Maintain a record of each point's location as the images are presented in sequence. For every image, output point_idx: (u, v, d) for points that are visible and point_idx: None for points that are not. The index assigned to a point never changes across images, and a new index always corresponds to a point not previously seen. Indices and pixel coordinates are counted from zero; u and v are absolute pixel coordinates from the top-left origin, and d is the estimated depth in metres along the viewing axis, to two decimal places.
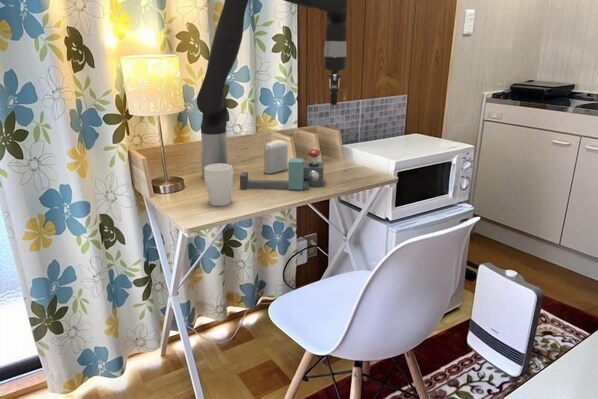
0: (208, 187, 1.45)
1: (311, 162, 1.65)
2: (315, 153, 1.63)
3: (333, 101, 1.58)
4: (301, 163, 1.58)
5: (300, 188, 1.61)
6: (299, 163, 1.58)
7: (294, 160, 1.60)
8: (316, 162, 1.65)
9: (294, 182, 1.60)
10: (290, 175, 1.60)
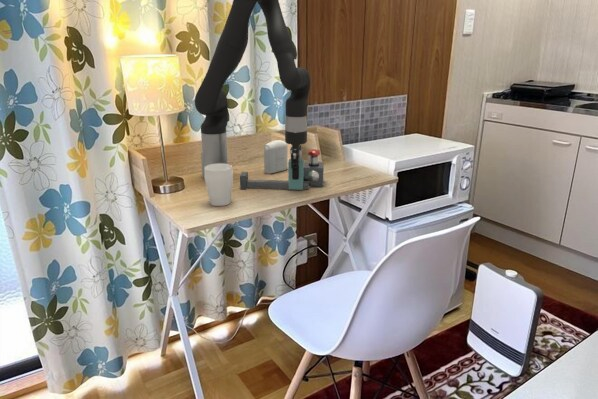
0: (208, 187, 1.45)
1: (311, 162, 1.65)
2: (315, 153, 1.63)
3: (295, 176, 1.58)
4: (301, 163, 1.58)
5: (300, 188, 1.61)
6: (299, 163, 1.58)
7: None
8: (316, 162, 1.65)
9: (294, 182, 1.60)
10: (290, 175, 1.60)
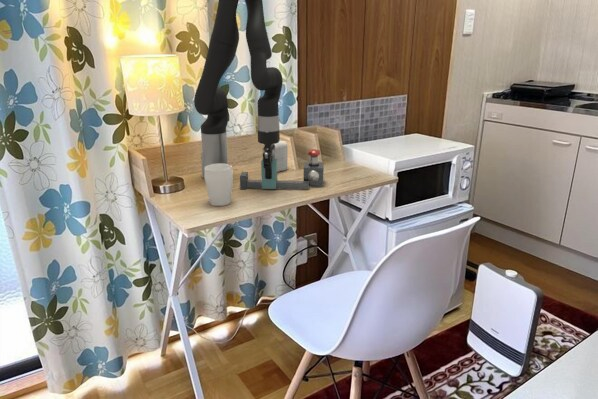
0: (208, 187, 1.45)
1: (311, 162, 1.65)
2: (315, 153, 1.63)
3: (267, 176, 1.59)
4: (274, 162, 1.58)
5: (273, 187, 1.62)
6: (272, 163, 1.59)
7: None
8: (316, 162, 1.65)
9: (267, 181, 1.61)
10: (263, 175, 1.60)
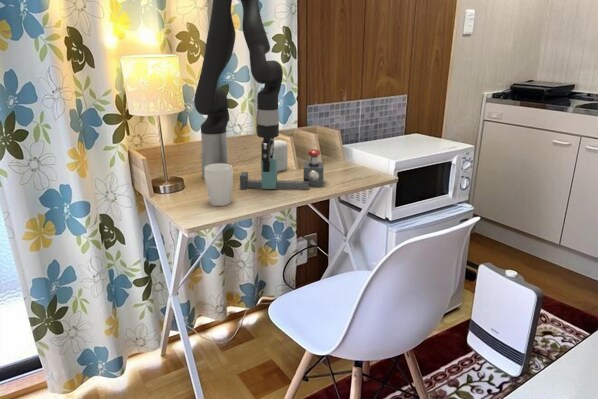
0: (208, 187, 1.45)
1: (311, 162, 1.65)
2: (315, 153, 1.63)
3: (265, 169, 1.56)
4: (274, 162, 1.58)
5: (273, 187, 1.62)
6: (272, 163, 1.59)
7: None
8: (316, 162, 1.65)
9: (267, 181, 1.61)
10: (263, 175, 1.60)
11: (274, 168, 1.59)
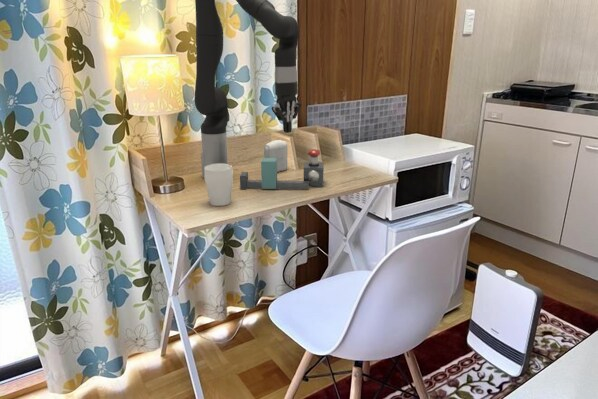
0: (208, 187, 1.45)
1: (311, 162, 1.65)
2: (315, 153, 1.63)
3: (284, 129, 1.57)
4: (274, 162, 1.58)
5: (273, 187, 1.62)
6: (272, 163, 1.59)
7: (267, 159, 1.60)
8: (316, 162, 1.65)
9: (267, 181, 1.61)
10: (263, 175, 1.60)
11: (274, 168, 1.59)
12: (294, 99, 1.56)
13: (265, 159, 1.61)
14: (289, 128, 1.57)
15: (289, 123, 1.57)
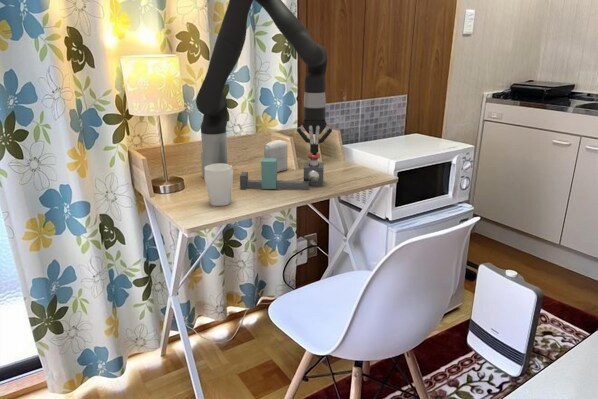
0: (208, 187, 1.45)
1: (311, 165, 1.66)
2: (315, 156, 1.64)
3: None
4: (274, 162, 1.58)
5: (273, 187, 1.62)
6: (272, 163, 1.59)
7: (267, 159, 1.60)
8: (316, 165, 1.66)
9: (267, 181, 1.61)
10: (263, 175, 1.60)
11: (274, 168, 1.59)
12: (322, 124, 1.60)
13: (265, 159, 1.61)
14: (313, 150, 1.64)
15: (313, 146, 1.63)
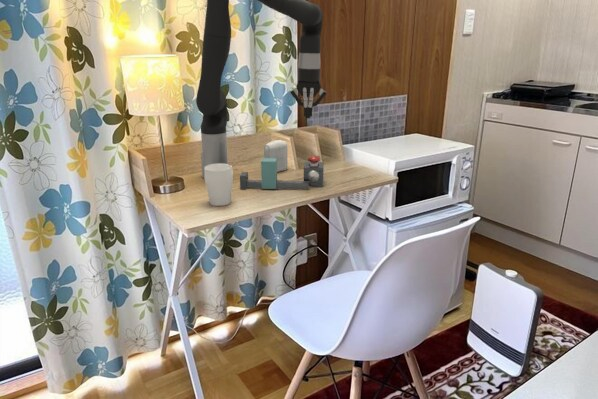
0: (208, 187, 1.45)
1: None
2: (315, 159, 1.64)
3: (304, 114, 1.62)
4: (274, 162, 1.58)
5: (273, 187, 1.62)
6: (272, 163, 1.59)
7: (267, 159, 1.60)
8: None
9: (267, 181, 1.61)
10: (263, 175, 1.60)
11: (274, 168, 1.59)
12: (316, 86, 1.58)
13: (265, 159, 1.61)
14: (307, 114, 1.61)
15: (307, 109, 1.61)
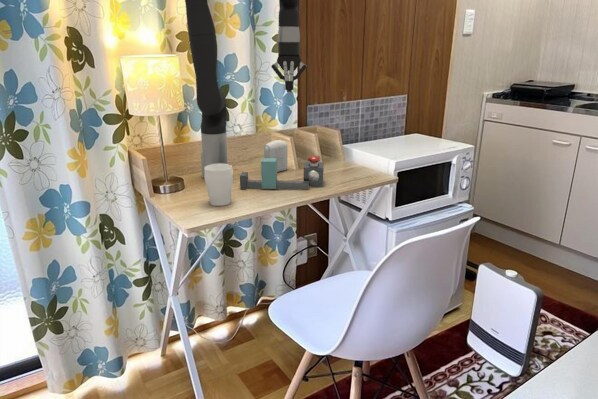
0: (208, 187, 1.45)
1: None
2: (315, 159, 1.64)
3: None
4: (274, 162, 1.58)
5: (273, 187, 1.62)
6: (272, 163, 1.59)
7: (267, 159, 1.60)
8: None
9: (267, 181, 1.61)
10: (263, 175, 1.60)
11: (274, 168, 1.59)
12: (296, 60, 1.61)
13: (265, 159, 1.61)
14: (288, 87, 1.64)
15: (288, 82, 1.64)
